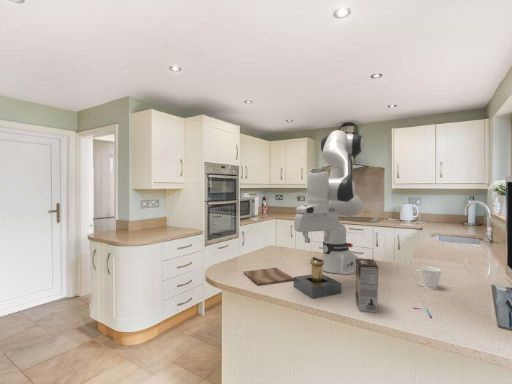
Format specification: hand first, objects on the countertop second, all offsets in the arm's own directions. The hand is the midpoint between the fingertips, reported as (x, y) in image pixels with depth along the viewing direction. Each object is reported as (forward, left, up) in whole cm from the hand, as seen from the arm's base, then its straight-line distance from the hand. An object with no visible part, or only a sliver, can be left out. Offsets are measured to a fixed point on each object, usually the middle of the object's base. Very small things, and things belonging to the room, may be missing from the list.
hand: (317, 241), depth 115 cm
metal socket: (0, 0, -20) cm, 20 cm away
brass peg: (0, 0, -20) cm, 20 cm away
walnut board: (+12, -22, -20) cm, 32 cm away
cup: (-46, +15, -20) cm, 53 cm away
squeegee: (-24, +28, -21) cm, 42 cm away
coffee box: (-7, +20, -20) cm, 29 cm away
